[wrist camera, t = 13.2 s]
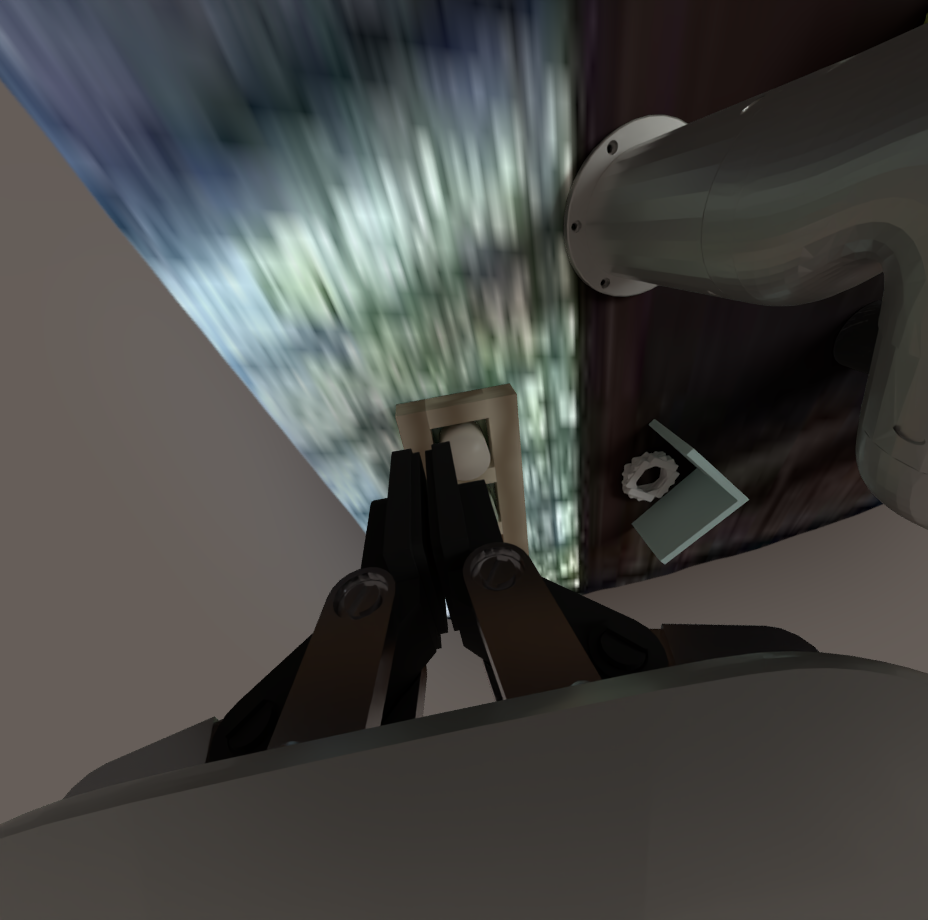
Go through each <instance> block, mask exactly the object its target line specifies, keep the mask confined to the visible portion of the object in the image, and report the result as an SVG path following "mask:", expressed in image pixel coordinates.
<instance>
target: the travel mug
mask: <svg viewBox="0 0 928 920" xmlns="http://www.w3.org/2000/svg"><path fill="white" fill-rule="evenodd" d="M881 305H882V300H880V301H876V302H873V303H871V304H869V305H867V306H865V307H863V308H862V309H860V310H859V311H858V312H857V313H855V314H854V315H853V316H852V317H851V318H850V319H849V320H848V321H847V322H846V323H845V325H844V326H843V327H842V329H841V330H840V332H839V334H838V336H837V338H836V340H835V343H834V348H833V354H834V358H835V360H836V361H837V362H838V363H839V364H841V365H843V366H846V367H849V368H852V369H854V370H857V371H860V372H863V373H866V374H869V371H870V366H871V362H872V357H873V353H874V348H875V344H876V339H877V335H878V330H879V327H878V320H879V315H880V311H881Z"/></svg>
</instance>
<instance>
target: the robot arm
mask: <svg viewBox="0 0 928 920" xmlns="http://www.w3.org/2000/svg"><path fill="white" fill-rule="evenodd" d="M607 146H609V147H610V152H609V153H608V152H607ZM573 223H574V224H575V229H574V230H572V228H571V227H572V224H573ZM564 241H565V248H566V251H567V255H568V258H569V261H570V263H571V265H572V267H573V269H574V271H575V272H576V274H577V275H578V276H579V277H580V279H581V280H582V281H583V282H584V283H585V284H587V285H588V286H589V287H591V288H592V289H594V290H596V291H598V292H601V293H603V294H607V295H611V296H622V297H627V296H633V295H638V294H641V293H644V292H646V291H649V290H651V289H653V288H655V287H656V286H658V285H661V286H666V287H671V288H676V289H681V290H686V291H691V292H696V293H701V294H706V295H712V296H717V297H722V298H727V299H732V300H738V301H743V302H748V303H754V304H760V305H767V306H793V305H800V304H805V303H809V302H814V301H818V300H821V299H825V298H828V297H830V296H833V295H835V294H838V293H840V292H843V291H845V290H847V289H850V288H852V287H854V286H857V285H859V284H860V283H862V282H864V281H866V280H868V279H870V278H872V277H874V276H876V275H878V274H880V273H881V272H884V283H885V287H884V293H883V299H882V305H881V311H880V315H879V320H878V327H879V330H878V335H877V339H876V344H875V348H874V353H873V357H872V362H871V366H870V371H869V376H868V380H867V385H866V389H865V394H864V398H863V403H862V407H861V412H860V419H859V424H858V431H857V439H856V461H857V465H858V469H859V472H860V475H861V477H862V478H863V480H864V482H865V484H866V485H867V487H868V489H869V490H870V491H871V492H872V493H873V495H874V496H875V497H877V498H878V499H879V500H880V501H881V502H882V503H883V504H884V505H886V506H887V507H888V508H889V509H891V510H892V511H894V512H895V513H896V514H898V515H900V516H901V517H903V518H905V519H907V520H909V521H911V522H912V523H914V524H917V525H919V526H921V527H923V528H925V529H927V530H928V23H926V24H924V25H921V26H919V27H917V28H915V29H913V30H910V31H908V32H906V33H904V34H902V35H899V36H897V37H895V38H893V39H890V40H888V41H886V42H884V43H882V44H879V45H877V46H875V47H873V48H871V49H868V50H866V51H864V52H862V53H859V54H857V55H855V56H852V57H850V58H847V59H845V60H842V61H840V62H838V63H835V64H833V65H830V66H828V67H825V68H823V69H821V70H818V71H816V72H813V73H811V74H809V75H806V76H804V77H802V78H799V79H797V80H794V81H792V82H789V83H787V84H784V85H782V86H779V87H777V88H775V89H772V90H770V91H767V92H765V93H762V94H760V95H757V96H755V97H753V98H750V99H748V100H745V101H743V102H740V103H738V104H735V105H733V106H731V107H728V108H726V109H723V110H721V111H718V112H716V113H713V114H711V115H709V116H706V117H704V118H701V119H699V120H696V121H694V122H691V123H689V124H687V123H686V122H684V121H682V120H681V119H679V118H676V117H672V116H668V115H648V116H645V117H641V118H638V119H635V120H632V121H630V122H628V123H626V124H624V125H622V126H620V127H619V128H617V129H616V130H615V131H613V132H612V133H610V134H609V135H607V136H606V137H605V138H604V139H603V140H602V141H601V142H600V143H599V144H598V145H597V146H596V147H595V148H594V149H593V150H592V152H591V153H590V154H589V156H588V157H587V158H586V160H585V161H584V163H583V164H582V166H581V168H580V170H579V171H578V173H577V175H576V177H575V179H574V181H573V184H572V187H571V190H570V193H569V195H568V198H567V203H566V209H565V214H564ZM602 280H603V284H602V285H601V281H602ZM431 448H432V449H431V450H426V451H425V462H426V475H425V471H424V467H423V463H422V459H421V456H420V452H415V453H413V452H412V449H411V448H410V449H405V450H400V451H394V452H392V455H391V466H390V477H389V488H388V498H384V499H379V500H374V501H372V502H371V505H370V512H369V518H368V525H367V531H366V539H365V544H364V551H363V558H362V564H361V569H359V570H356V571H354V572H352V573H350V574H348V575H347V576H345V577H344V578H342V579H341V580H340V581H339V582H338V583H337V584H336V585H335V586H334V587H333V588H332V590H331V592H330V593H329V595H328V597H327V599H326V602H325V605H324V607H323V609H322V612H321V614H320V617H319V619H318V622H317V624H316V627H315V630H314V632H313V634H311V635H310V636H309V637H308V638H307V639H306V640H305V641H304V642H303V643H302V644H301V645H299V647H297V648H296V649H295V650H294V651H293V652H292V653H291V654H290V655H289V656H287V657H286V658H285V659H284V660H283V661H282V662H281V663H280V664H279V665H278V666H277V667H276V668H274V669H273V670H272V671H271V672H270V673H269V674H268V675H267V676H266V677H265V678H264V679H262V680H261V681H260V682H259V683H258V684H257V685H256V686H255V687H254V688H253V689H252V690H251V691H250V692H248V693H247V694H246V695H245V696H244V697H243V698H242V699H241V700H240V701H239V702H238V703H237V704H236V705H235V706H234V707H233V708H232V709H231V710H230V711H229V712H228V713H227V714H226V716H225V717H224V719H222V720H218V719H216V717H212V718H210V719H208V720H205V721H203V722H201V723H198V724H196V725H194V726H191V727H189V728H187V729H184V730H182V731H180V732H178V733H175V734H173V735H171V736H169V737H166V738H164V739H161V740H159V741H157V742H155V743H152V744H150V745H148V746H145V747H143V748H141V749H139V750H136V751H134V752H131V753H129V754H127V755H125V756H122V757H120V758H118V759H115V760H113V761H111V762H108V763H106V764H104V765H103V766H101V767H99V768H98V769H96V770H94V771H93V772H91V773H89V774H88V775H87V776H86V777H84V778H83V779H82V780H81V781H80V782H79V783H77V784H76V785H75V786H74V787H73V788H72V789H71V790H70V791H69V792H68V793H67V795H66V796H65V797H64V798H63V799H62V800H60V801H57V802H54V803H52V804H49V805H46V806H43V807H41V808H38V809H35V810H33V811H30V812H27V813H25V814H22V815H20V816H18V817H16V818H14V819H11V820H9V821H7V822H5V823H2V824H0V920H928V674H927V673H924V672H921V671H917V670H914V669H911V668H907V667H903V666H899V665H895V664H891V663H887V662H882V661H877V660H871V659H866V658H860V657H855V656H849V655H840V654H831V653H822V652H819V651H818V650H817V649H816V648H815V647H814V646H813V645H811V644H810V643H808V642H807V641H806V640H804V639H803V638H801V637H800V636H798V635H796V634H794V633H791V632H789V631H786V630H784V629H782V628H776V627H770V626H755V625H753V626H752V625H705V624H704V625H703V624H662V625H661V629H648V628H647V627H646V626H644V625H642V624H641V623H639V622H637V621H636V620H634V619H631V618H629V617H627V616H625V615H623V614H621V613H619V612H617V611H614V610H612V609H610V608H608V607H605V606H603V605H601V604H599V603H597V602H595V601H592V600H590V599H588V598H586V597H584V596H582V595H580V594H578V593H575V592H573V591H571V590H569V589H567V588H565V587H562V586H560V585H558V584H556V583H554V582H552V581H549V580H547V579H545V578H543V577H541V576H540V574H539V572H538V571H537V569H536V567H535V565H534V564H533V562H532V560H531V559H530V557H529V556H528V555H527V553H526V552H525V551H524V550H523V549H521V548H519V547H518V546H516V545H513V544H510V543H506V542H503V539H502V536H501V532H500V529H499V526H498V522H497V519H496V516H495V512H494V509H493V506H492V502H491V499H490V496H489V493H488V489H487V486H486V483H485V480H484V479H482V480H477V481H472V482H467V483H462V484H458V482H457V477H456V471H455V466H454V461H453V456H452V451H451V446H450V441H447V442H441V443H436V444H431ZM426 478H427V479H426ZM445 599H446V603H447V606H448V610H449V613H450V617H451V621H452V624H453V628H454V631H458V630H460V634H461V638H462V642H463V645H464V647H466V648H467V649H469V650H470V651H472V652H473V653H475V654H476V655H478V656H479V657H481V658H482V663H483V667H484V670H485V673H486V676H487V678H488V682H489V685H490V688H491V691H492V694H493V697H494V700H495V702H492V703H487V704H482V705H478V706H473V707H468V708H463V709H459V710H454V711H449V712H444V713H440V714H435V715H430V716H425V717H423V710H424V700H425V691H426V682H427V667H426V664H427V663H428V662H429V660H430V659H431V658H432V657H433V655H434V654H435V653H436V649H439V648H441V635H440V634H443V633H448V624H447V614H446V603H445Z"/></svg>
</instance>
